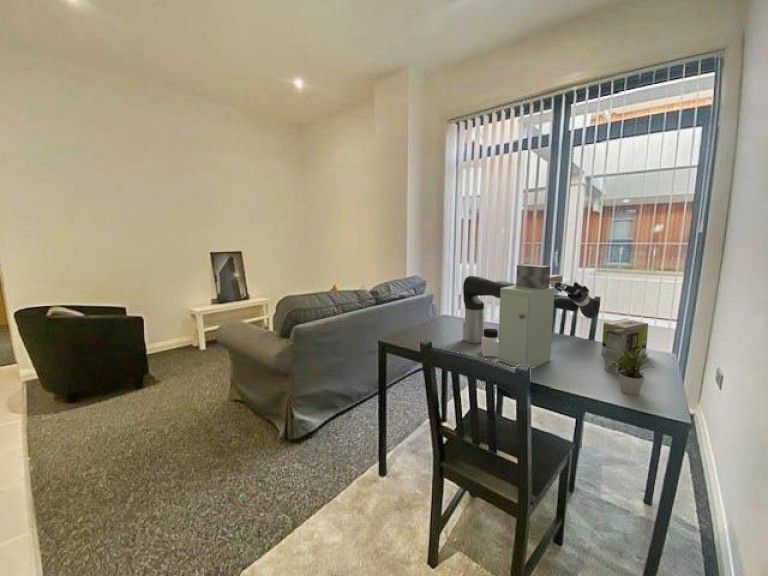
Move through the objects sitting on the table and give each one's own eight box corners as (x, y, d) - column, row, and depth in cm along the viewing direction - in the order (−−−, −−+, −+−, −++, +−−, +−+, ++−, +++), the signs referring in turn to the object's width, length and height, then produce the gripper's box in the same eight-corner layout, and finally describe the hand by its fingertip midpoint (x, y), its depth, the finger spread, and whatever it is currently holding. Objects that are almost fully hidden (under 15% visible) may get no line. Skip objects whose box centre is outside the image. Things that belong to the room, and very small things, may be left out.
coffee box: (620, 365, 142) (624, 327, 139) (635, 371, 136) (639, 332, 133) (603, 368, 140) (606, 330, 137) (617, 374, 134) (621, 334, 131)
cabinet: (495, 361, 150) (498, 288, 144) (521, 351, 160) (524, 283, 155) (525, 371, 138) (529, 293, 133) (550, 360, 149) (554, 287, 144)
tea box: (623, 348, 161) (626, 317, 159) (646, 355, 152) (650, 323, 149) (600, 353, 156) (603, 321, 154) (622, 361, 147) (625, 327, 144)
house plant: (611, 377, 131) (615, 336, 128) (657, 389, 121) (662, 344, 118) (600, 390, 122) (603, 345, 119) (648, 403, 112) (654, 355, 109)
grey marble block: (516, 285, 150) (517, 265, 148) (546, 280, 163) (547, 261, 162) (542, 289, 140) (543, 267, 139) (572, 282, 154) (573, 262, 152)
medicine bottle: (499, 357, 154) (499, 331, 152) (482, 356, 155) (483, 330, 153) (497, 351, 161) (498, 326, 159) (481, 351, 162) (481, 326, 160)
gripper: (566, 287, 178) (553, 274, 168) (596, 291, 166) (583, 277, 157) (562, 300, 177) (548, 288, 167) (591, 305, 165) (578, 292, 156)
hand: (565, 282), depth 162 cm, fingers open, 8 cm apart
